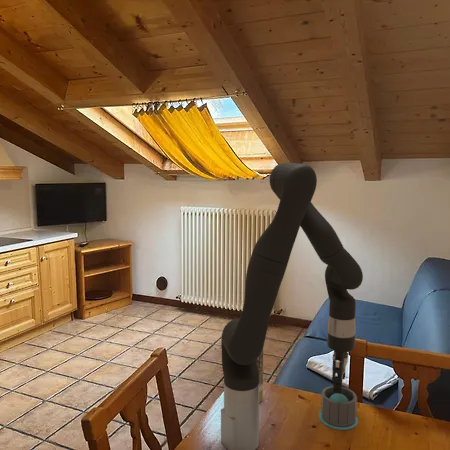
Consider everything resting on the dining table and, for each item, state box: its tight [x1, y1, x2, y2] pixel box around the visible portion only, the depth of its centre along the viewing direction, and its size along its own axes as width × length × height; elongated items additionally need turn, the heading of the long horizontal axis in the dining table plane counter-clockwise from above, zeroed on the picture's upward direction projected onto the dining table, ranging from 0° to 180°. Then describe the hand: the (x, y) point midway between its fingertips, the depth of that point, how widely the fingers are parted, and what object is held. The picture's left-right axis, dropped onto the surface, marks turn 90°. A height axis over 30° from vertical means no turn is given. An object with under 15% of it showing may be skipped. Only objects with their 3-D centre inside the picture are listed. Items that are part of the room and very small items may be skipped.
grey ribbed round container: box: [318, 385, 359, 431], centre depth 124 cm, size 11×11×7 cm
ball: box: [329, 393, 349, 402], centre depth 123 cm, size 6×6×6 cm
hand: (339, 385), depth 123 cm, fingers open, 8 cm apart
